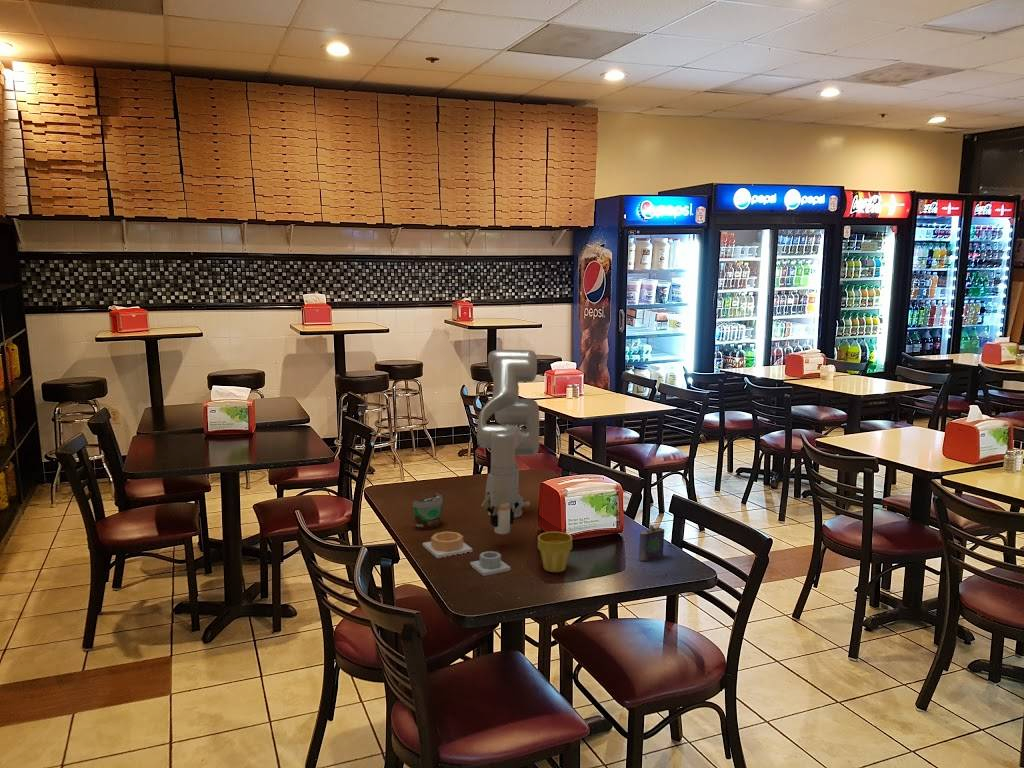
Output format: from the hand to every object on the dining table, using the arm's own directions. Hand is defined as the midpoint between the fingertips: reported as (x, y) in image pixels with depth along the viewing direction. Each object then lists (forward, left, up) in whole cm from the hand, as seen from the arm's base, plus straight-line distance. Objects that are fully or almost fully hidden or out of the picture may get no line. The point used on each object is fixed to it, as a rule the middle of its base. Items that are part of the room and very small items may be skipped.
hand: (502, 523), depth 240 cm
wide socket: (+16, -6, -8) cm, 19 cm away
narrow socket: (+11, +14, -8) cm, 19 cm away
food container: (+12, -28, -8) cm, 32 cm away
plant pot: (-6, +23, -8) cm, 25 cm away
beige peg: (0, 0, -3) cm, 3 cm away
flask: (-37, +30, -8) cm, 48 cm away
